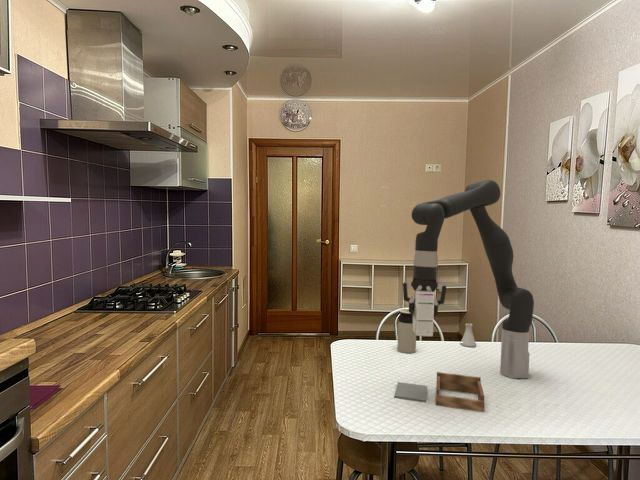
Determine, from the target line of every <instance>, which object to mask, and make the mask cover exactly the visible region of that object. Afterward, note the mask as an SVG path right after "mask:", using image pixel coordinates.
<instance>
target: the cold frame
mask: <svg viewBox="0 0 640 480" xmlns="http://www.w3.org/2000/svg"><path fill="white" fill-rule="evenodd" d="M435 389H436V391H435V393H436V394H435V406H440V407H441V406H442V407H448V408H453V409H454V408H456V409H462V410H468V411H475V412H483V413H484V412H485V393H484V389H483V386H482V378H481V377H480V376H473V375H466V374H465V375H464V374H458V373H457V374H456V373H448V372H441V371H436V387H435ZM441 390H444V391H449V392H450V391H451V392H457V393H467V394H473V395H476V396H477V399H473V398H467V397H460V396H459V397H458V396H452V395H445V394H440V393H441V392H440V391H441Z"/></svg>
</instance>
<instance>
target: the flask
mask: <svg viewBox="0 0 640 480" xmlns="http://www.w3.org/2000/svg"><path fill="white" fill-rule="evenodd" d="M473 326H474V325H473V324H472V323H467V322H466V323H465V330H464V334H463V336H462V339H461V340H460V342H459V344H460V345H461V346H462V347H467V348H476V347H477V343H476V340H475V337H474V333H473ZM461 342H463V343H461Z"/></svg>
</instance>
